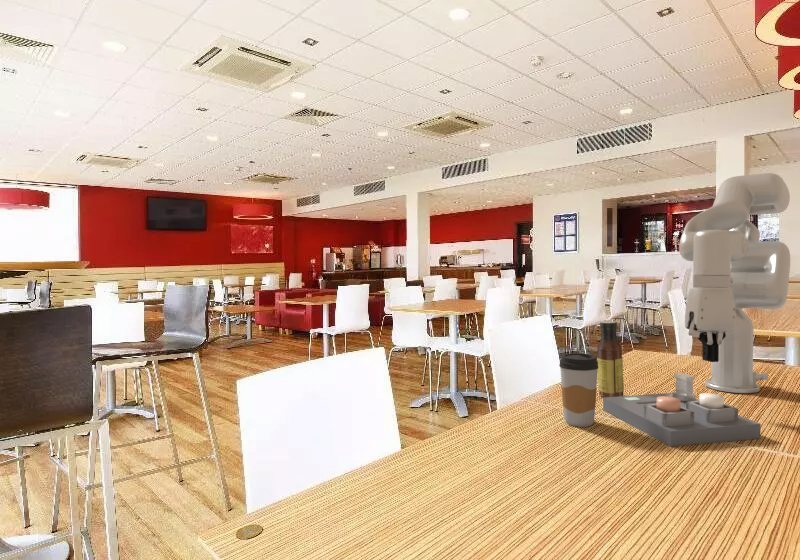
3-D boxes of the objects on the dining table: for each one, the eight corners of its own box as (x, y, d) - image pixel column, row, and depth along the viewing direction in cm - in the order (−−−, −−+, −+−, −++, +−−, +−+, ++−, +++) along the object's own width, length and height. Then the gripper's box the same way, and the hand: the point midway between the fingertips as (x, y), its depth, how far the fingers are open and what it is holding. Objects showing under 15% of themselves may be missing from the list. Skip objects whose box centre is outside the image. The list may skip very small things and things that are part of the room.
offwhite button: (712, 403, 110) (712, 392, 110) (728, 409, 106) (729, 398, 106) (694, 404, 110) (694, 393, 109) (709, 411, 105) (710, 399, 105)
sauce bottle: (619, 393, 137) (619, 319, 136) (627, 399, 131) (627, 323, 130) (594, 393, 138) (593, 320, 137) (601, 399, 132) (600, 323, 131)
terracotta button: (670, 406, 109) (670, 395, 109) (685, 413, 104) (685, 401, 104) (651, 408, 108) (652, 397, 108) (665, 414, 104) (665, 402, 104)
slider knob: (684, 395, 122) (684, 372, 122) (696, 400, 118) (696, 376, 118) (672, 396, 122) (672, 373, 122) (683, 401, 118) (684, 377, 118)
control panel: (677, 404, 127) (678, 382, 126) (760, 438, 103) (760, 411, 103) (603, 409, 124) (603, 387, 123) (670, 446, 100) (670, 418, 100)
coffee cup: (600, 418, 117) (599, 353, 116) (597, 430, 110) (597, 361, 109) (562, 414, 121) (561, 351, 120) (557, 425, 113) (556, 358, 112)
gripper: (727, 282, 125) (726, 357, 125) (671, 282, 122) (670, 359, 123) (753, 283, 117) (751, 362, 118) (694, 283, 115) (693, 365, 115)
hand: (710, 360), depth 120 cm, fingers closed
